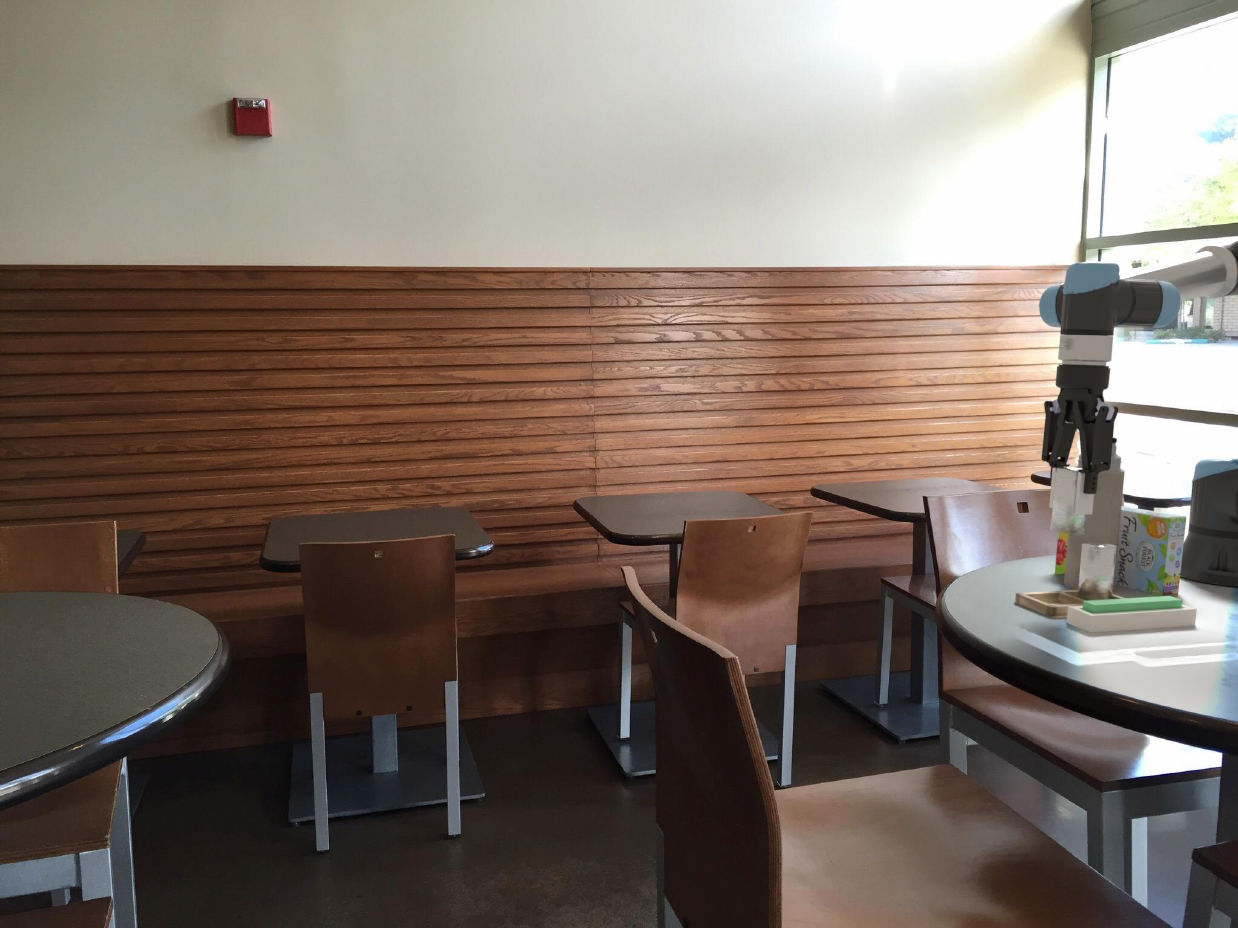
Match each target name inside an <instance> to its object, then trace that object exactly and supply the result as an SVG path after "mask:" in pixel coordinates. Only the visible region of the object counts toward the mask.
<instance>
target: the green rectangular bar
mask: <svg viewBox="0 0 1238 928" xmlns="http://www.w3.org/2000/svg"><path fill="white" fill-rule="evenodd" d="M1124 598H1125V597H1124ZM1182 604H1183V599H1181V598H1178V597H1176V596H1175V597H1174V596H1172V595H1165V596H1160V595H1158V596H1145V597H1129V598H1127V597H1126V598H1125V599H1108V600H1091V601H1083V609H1082V610H1085V611H1088V612H1090V613H1108V612H1124V611H1140V610H1156V609H1172V608H1182Z"/></svg>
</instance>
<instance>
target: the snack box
mask: <svg viewBox="0 0 1238 928" xmlns="http://www.w3.org/2000/svg"><path fill="white" fill-rule="evenodd" d="M1186 524H1187V516H1185V515H1180V514H1174V513H1173V514H1172V513H1166V512H1160V511H1154V510H1149V509H1142V508H1137V507H1130V506H1125V505H1124V506H1123V505H1122V507H1121V518H1120V527H1119V535H1118V552H1117V564H1116V575H1115V585H1116V586H1119V587H1124V588H1127V589H1132V590H1135V591H1136V590H1137V591H1138V592H1139V591H1140V592H1145V593H1147V594H1148V593H1149V594H1153V595H1155V596H1156V595H1157V596H1171V595H1174V594H1175V595H1177V596H1178V595H1179V591H1180V580H1181V576H1180V573H1181V563H1182V554H1183V544H1184V542H1185V533H1186V527H1187V526H1186ZM1056 541H1057V543H1056V554H1055V565H1054V575H1065V567H1066V556H1067V547H1068V534H1064V533H1058V532H1057V540H1056Z"/></svg>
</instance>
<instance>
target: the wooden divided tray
mask: <svg viewBox="0 0 1238 928" xmlns="http://www.w3.org/2000/svg"><path fill="white" fill-rule="evenodd" d="M1112 599H1125V597H1122V596H1120V595H1117V594H1115V593H1113V594H1112ZM1083 601H1086V600H1084V599H1081V598H1078V590H1077V589H1067V590H1065V589H1064V590H1052V591H1050V590H1049V591H1048V590H1047V591H1031V592H1015V597H1014V600H1012V602H1013V603H1016V604H1018V605H1021V606H1023V607H1025V608H1028V609H1030V610H1033V611H1035V612H1038V613H1041V614H1042V615H1045V616H1047V617H1050V618H1052V619H1063V618H1066V619H1067V613H1068V607H1069V606H1083Z"/></svg>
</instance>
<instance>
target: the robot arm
mask: <svg viewBox="0 0 1238 928" xmlns="http://www.w3.org/2000/svg"><path fill="white" fill-rule="evenodd" d="M1064 277H1065V278H1064V282H1061V284H1054V285H1051V286H1049V287H1047V288H1046V289H1045V290H1044V291H1043V293H1042V294H1041V296H1040V299H1039V303H1038V311H1039V316H1040V317H1041V320H1042V321H1043V322H1044V323H1045V324H1046V325H1047V326H1049V327H1052V328H1060V333H1059V334H1060V335H1059V345H1058V355H1057V356H1058V357H1057V359H1058V360H1059V361H1061V364H1058V365H1057V366H1056V373H1055V374H1056V377H1055V386H1056V387H1057V388H1059V393H1058V395H1057V398H1056V399H1054V400H1045V401H1044V402H1043V407H1044V414H1045V416H1044V428H1043V429H1044V430H1043V438H1042V439H1043V440H1042V450H1041V460H1042V462H1046V463H1048V466H1049V467H1050V471H1049V472H1050V475H1049V487H1050V493H1049V495H1050V496H1049V504H1048V507H1049V508H1050V509H1053V499H1054V488H1055V477H1056V468H1057V467H1070V466H1071V464H1070V463H1068V460H1069V457H1070V453H1071V449H1072V445H1073V442H1074V439H1075V437H1076V435H1075V434H1076V432H1077V430H1078V435H1079V445H1080V454H1081V459H1082V469H1080V470H1079V472H1078V478H1077V489H1076V500H1075V511H1074V514H1077V515H1085V514H1092V511H1093V500H1094V494H1096V491H1097V481H1098V474H1099V473H1100V472H1102V471H1105V470H1109V469H1110V466H1111V455H1112V443H1113V438H1114V429H1115V422H1116V419H1117V415H1118V414H1119V413H1118V412H1119V407H1118V406H1116V405H1114V406H1113V405H1109V404H1107V403H1106V402H1105V398H1104V391H1106V390H1107V389H1108V388H1109V385H1110V375H1111V368H1110V366H1109V365H1107V363H1110V362H1111V361H1112V357H1113V345H1114V335H1115V333H1114V332H1115V329H1116V328H1117V329H1119V328H1139V329H1140V328H1142V329H1146V330H1147V329H1148V330H1151V329H1160V328H1164V327H1167V326H1169V324H1171V323H1173V321H1175V319H1176V318H1177V316H1178V315H1179V313H1180V309H1181V302H1183V301H1188V300H1193V299H1197V298H1200V297H1204V298H1207V299H1219V298H1223V297H1227V296H1228V297H1229V296H1238V236H1237V237H1233V238H1231V239H1226V240H1224V241H1220V242H1217V243H1213V244H1209V245H1206V246H1203V247H1201V248H1199V249H1198V250H1197V251H1196V252H1195V253H1194V254H1193V255H1192V254H1190V255H1188V256H1183V257H1180V258H1179V257H1178V258H1176V259H1171V260H1167V261H1162V262H1157V263H1154V264H1150V265H1146V266H1142V267H1137V268H1133V269H1128V270H1124V271H1121V272H1120V266H1119V264H1117V263H1115V262H1111V261H1084V262H1082V261H1081V262H1074V263H1072V264H1070V265H1069V266H1068V267H1067V269H1066V272H1065V276H1064ZM1101 462H1102V463H1101ZM1091 463H1092V464H1091ZM1090 464H1091V465H1090ZM1190 496H1191V497H1190V508H1189V509H1190V510H1189V517H1188V518H1189V520H1188V531H1187V536H1186V537H1185V538H1184V544H1183V554H1182V563H1181V573H1180V578H1181V577H1182V578H1185V579H1188V580H1192V581H1194V582H1200V583H1205V584H1212V585H1218V586H1227V587H1238V458H1212V459H1211V458H1210V459H1208V458H1207V459H1201V460H1200V461H1198V462H1197V463H1196V465H1195V466H1194V472H1193V478H1192V479H1191V495H1190Z"/></svg>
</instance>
